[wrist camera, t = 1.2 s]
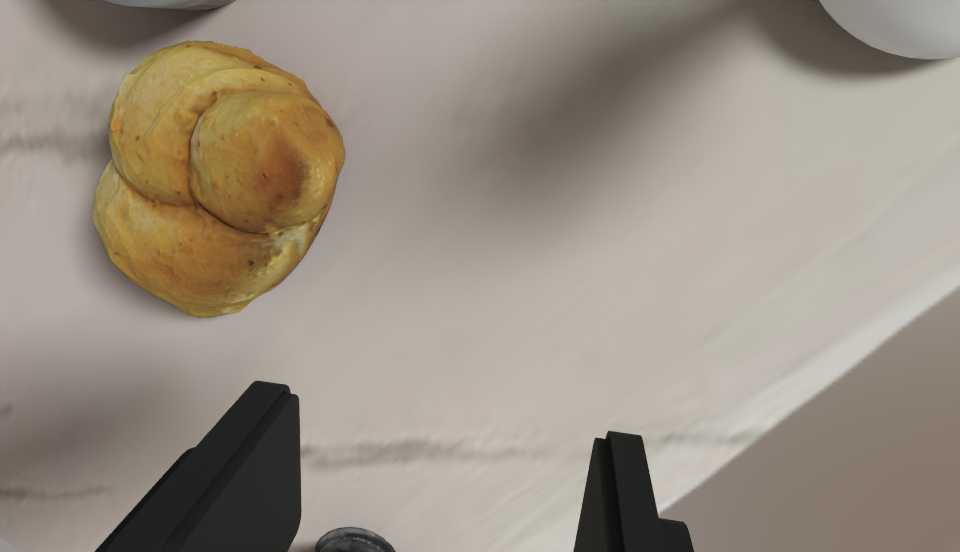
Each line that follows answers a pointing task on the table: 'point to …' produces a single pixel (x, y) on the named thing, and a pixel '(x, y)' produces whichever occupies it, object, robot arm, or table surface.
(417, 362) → the table surface
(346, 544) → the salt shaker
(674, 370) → the table surface
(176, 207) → the bread roll
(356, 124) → the table surface
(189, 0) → the grey glossy rounded piece
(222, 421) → the robot arm
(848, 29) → the flower in vase
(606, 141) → the table surface
